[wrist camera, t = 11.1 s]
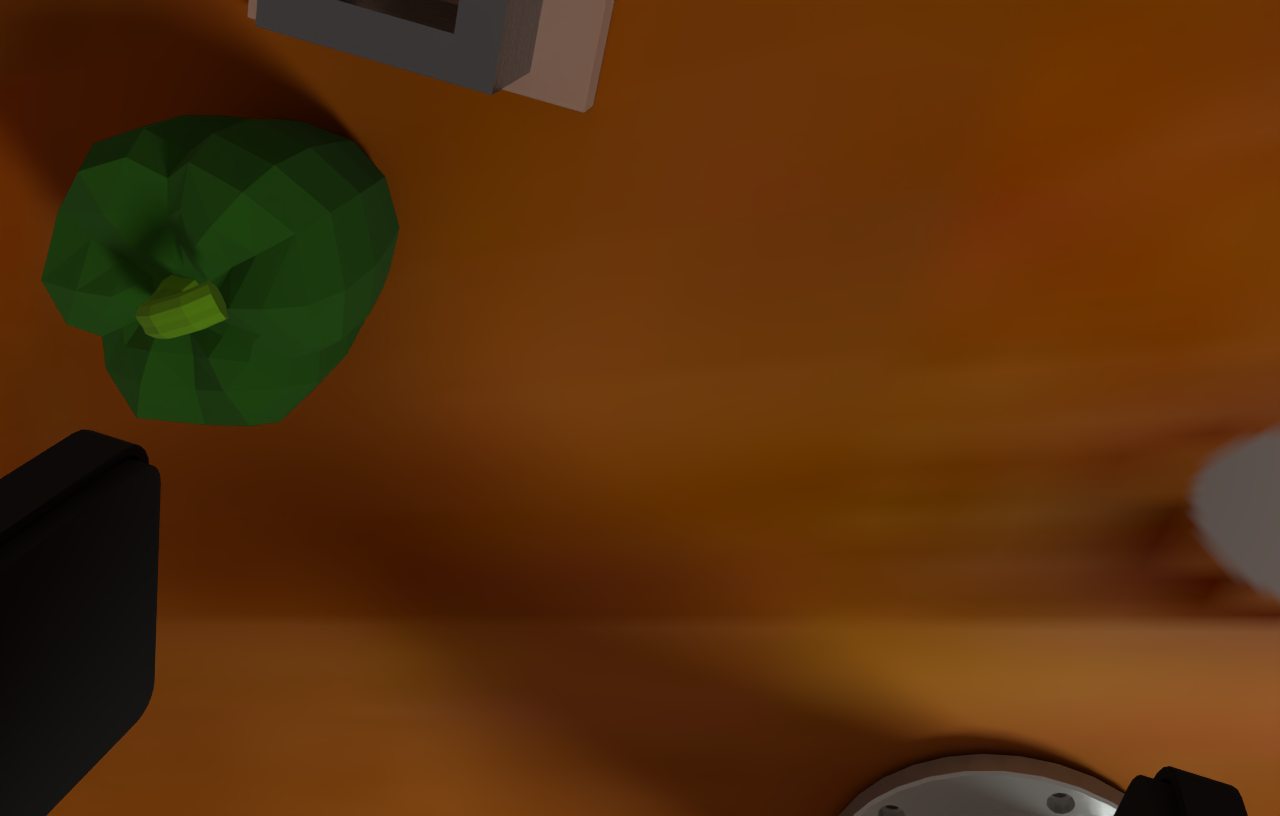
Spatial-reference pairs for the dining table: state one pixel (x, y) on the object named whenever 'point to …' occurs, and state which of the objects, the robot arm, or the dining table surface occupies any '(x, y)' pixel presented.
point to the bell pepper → (222, 262)
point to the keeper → (560, 52)
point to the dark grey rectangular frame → (420, 34)
